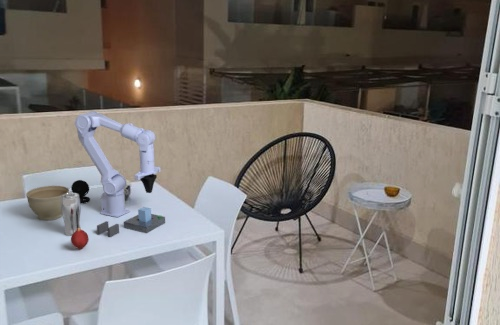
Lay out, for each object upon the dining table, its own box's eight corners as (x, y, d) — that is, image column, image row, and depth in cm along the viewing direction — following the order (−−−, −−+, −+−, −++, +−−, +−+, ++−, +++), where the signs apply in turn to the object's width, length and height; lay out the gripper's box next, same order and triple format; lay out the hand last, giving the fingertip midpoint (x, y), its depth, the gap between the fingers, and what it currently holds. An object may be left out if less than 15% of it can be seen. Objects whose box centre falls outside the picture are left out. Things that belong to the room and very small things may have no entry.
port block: (123, 227, 185) (123, 220, 184) (143, 218, 195) (143, 210, 195) (146, 233, 180) (146, 225, 179) (165, 222, 191) (165, 215, 190)
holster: (97, 234, 179) (96, 225, 178) (106, 229, 183) (106, 221, 182) (110, 237, 176) (109, 228, 175) (119, 232, 180) (118, 224, 179)
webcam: (92, 198, 218) (90, 177, 215) (87, 204, 210) (86, 182, 208) (75, 198, 217) (73, 177, 215) (70, 204, 210) (68, 182, 208)
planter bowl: (19, 220, 191) (16, 194, 188) (50, 207, 205) (47, 183, 203) (50, 226, 185) (48, 200, 182) (79, 213, 200) (77, 188, 197)
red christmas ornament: (74, 245, 169) (72, 224, 167) (91, 245, 169) (89, 224, 167) (69, 252, 163) (67, 231, 161) (86, 252, 163) (85, 230, 161)
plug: (138, 226, 187) (138, 209, 185) (144, 223, 190) (144, 206, 188) (145, 227, 185) (145, 211, 184) (151, 224, 188) (150, 208, 187)
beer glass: (86, 230, 181) (83, 193, 178) (74, 237, 175) (71, 199, 171) (71, 228, 184) (68, 191, 180) (59, 235, 177) (55, 197, 173)
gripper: (143, 165, 184) (145, 198, 187) (165, 157, 196) (167, 188, 200) (129, 163, 187) (131, 196, 190) (152, 155, 199) (153, 186, 203)
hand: (148, 192), depth 195 cm, fingers closed
